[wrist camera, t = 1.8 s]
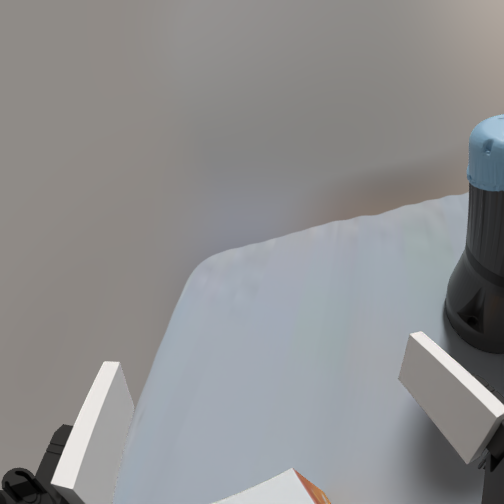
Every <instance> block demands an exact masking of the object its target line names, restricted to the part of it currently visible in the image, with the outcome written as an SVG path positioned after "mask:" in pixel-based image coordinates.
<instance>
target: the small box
mask: <svg viewBox="0 0 504 504" xmlns="http://www.w3.org/2000/svg"><path fill="white" fill-rule="evenodd" d="M211 504H331V503H330V501H329V500H328V498H327V497H326V495H325V494H324V492H323V491H322V490H320V489H319V488H318V487H316V486H315V485H314V484H312V483H311V482H310V481H308V480H307V479H306V478H304V477H303V476H302V475H301V474H299V473H298V472H297V471H296V470H294V468H291V469H289V470H287V471H285V472H283V473H281V474H279V475H277V476H275V477H273V478H271V479H269V480H267V481H265V482H262V483H260V484H258V485H256V486H254V487H251V488H249V489H247V490H244V491H242V492H240V493H237V494H235V495H232V496H230V497H227V498H224V499H222V500H219V501H216V502H214V503H211Z"/></svg>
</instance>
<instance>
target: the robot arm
mask: <svg viewBox="0 0 504 504" xmlns="http://www.w3.org/2000/svg"><path fill="white" fill-rule="evenodd" d="M467 179H468V180H469V209H468V224H467V235H466V247H465V250H464V252H463V254H462V256H461V258H460V260H459V262H458V263H457V265H456V267H455V269H454V271H453V273H452V275H451V277H450V280H449V283H448V288H447V295H446V311H447V315H448V318H449V320H450V323H451V324H452V326H453V328H454V329H455V331H456V332H457V333H458V334H459V335H460V336H461V337H462V338H463V339H464V340H465V341H466V342H468V343H469V344H471V345H472V346H474V347H476V348H478V349H480V350H483V351H486V352H491V353H504V114H502V115H497V116H493V117H491V118H488V119H486V120H484V121H482V122H480V123H479V124H478V125H477V126H476V127H475V128H474V129H473V131H472V133H471V135H470V138H469V165H468V168H467ZM398 379H399V381H400V382H401V383H402V384H403V385H404V387H405V388H406V389H407V390H408V391H409V393H410V394H411V395H412V396H413V398H414V399H415V400H416V401H417V402H418V404H419V405H420V406H421V407H422V409H423V410H424V411H425V412H426V413H427V415H428V416H429V417H430V418H431V420H432V421H433V422H434V423H435V425H436V426H437V427H438V428H439V430H440V431H441V432H442V433H443V435H444V436H445V437H446V438H447V440H448V441H449V442H450V444H451V445H452V446H453V447H454V449H455V450H456V451H457V452H458V454H459V455H460V456H461V458H462V459H463V460H464V461H465V463H466V464H469V463H471V462H472V461H474V460H476V459H477V458H479V457H480V456H481V454H482V453H483V451H484V450H485V448H487V449H488V450H489V452H488V453H487V455H486V456H485V458H484V459H483V460H482V462H481V463H480V464H479V467H478V469H480V468H481V467H482V466H483V464H484V463H485V462H486V465H485V467H484V468H483V469H485V478H484V488H483V496H482V503H481V504H504V397H503V396H501V395H500V394H499V393H498V392H497V391H495V389H494V388H493V387H492V386H489V384H488V383H487V382H486V381H485V380H484V379H483V378H481V377H479V376H477V375H475V374H470V373H469V372H468V371H466V370H465V369H464V368H463V367H462V366H461V365H460V364H459V363H457V362H456V361H455V360H454V359H453V358H452V357H451V356H450V355H448V354H447V353H446V352H445V351H444V350H443V349H441V348H440V347H439V346H438V345H437V344H436V343H435V342H433V341H432V340H431V339H430V338H429V337H428V336H426V335H425V334H424V333H423V332H422V331H420V332H416V333H412V334H409V338H408V343H407V347H406V351H405V355H404V359H403V363H402V367H401V370H400V374H399V378H398ZM134 409H135V408H134V406H133V402H132V399H131V396H130V393H129V390H128V387H127V384H126V381H125V377H124V374H123V371H122V367H121V364H120V362H104V363H103V365H102V367H101V369H100V371H99V373H98V375H97V377H96V379H95V381H94V383H93V385H92V387H91V389H90V391H89V394H88V396H87V398H86V400H85V402H84V404H83V407H82V409H81V411H80V413H79V415H78V418H77V420H76V422H75V424H74V426H69V425H64V424H63V425H62V426H61V427H60V428H59V429H58V430H57V431H56V432H55V433H54V435H53V437H52V439H51V441H50V445H49V446H48V448H47V450H46V451H47V452H46V453H45V454H44V457H43V459H42V461H41V464H40V466H39V468H38V471H37V473H36V476H34V475H33V474H32V473H31V472H30V471H28V470H27V469H24V468H14V469H12V470H10V471H8V472H7V473H6V474H5V475H4V477H3V480H2V489H3V490H0V504H112V503H113V498H114V493H115V488H116V483H117V478H118V474H119V469H120V465H121V461H122V456H123V452H124V448H125V444H126V440H127V436H128V432H129V428H130V424H131V420H132V416H133V412H134Z"/></svg>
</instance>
